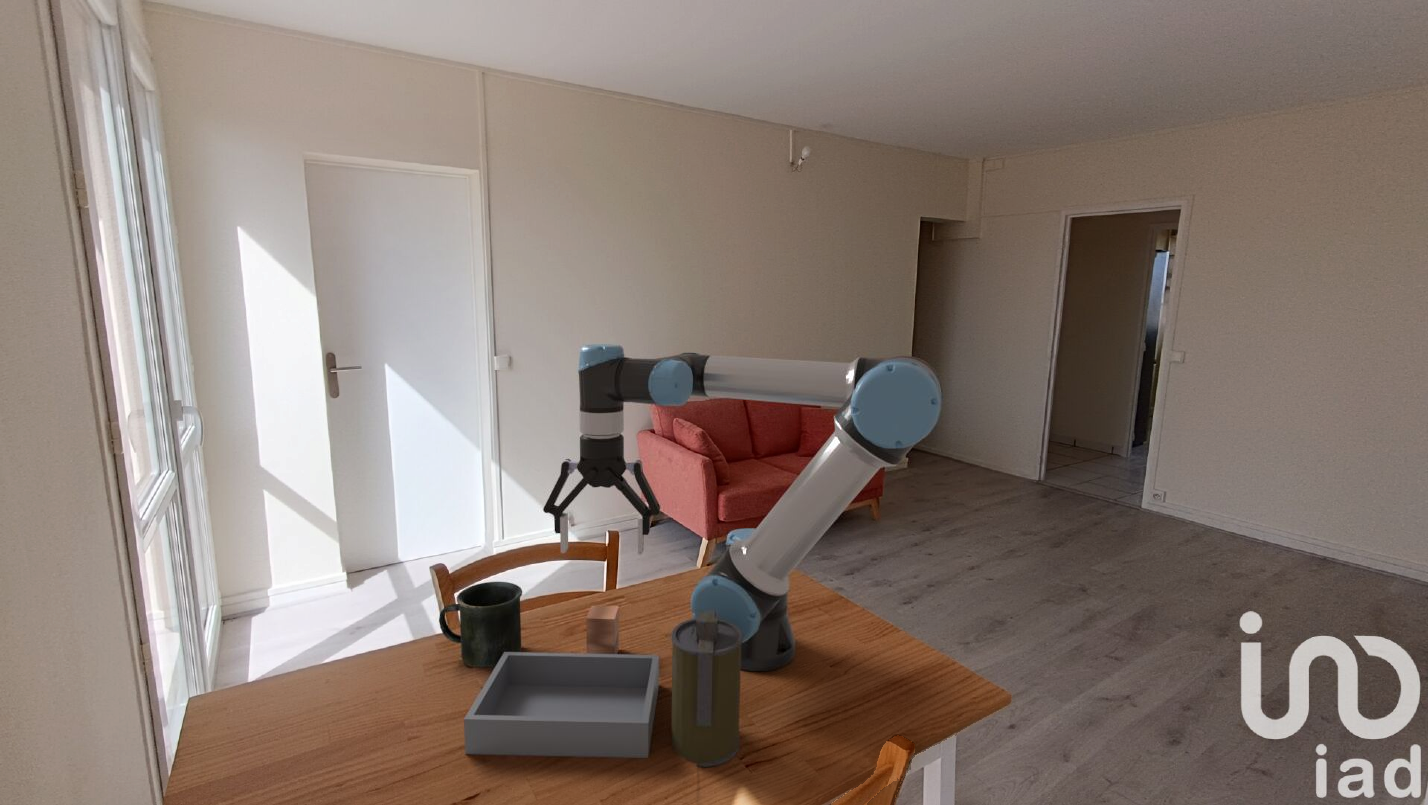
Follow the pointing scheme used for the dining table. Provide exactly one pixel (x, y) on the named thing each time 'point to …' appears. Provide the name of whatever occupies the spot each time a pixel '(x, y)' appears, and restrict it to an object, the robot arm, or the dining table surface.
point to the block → (603, 630)
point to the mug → (486, 622)
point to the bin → (565, 706)
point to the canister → (706, 689)
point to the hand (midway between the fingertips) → (602, 551)
